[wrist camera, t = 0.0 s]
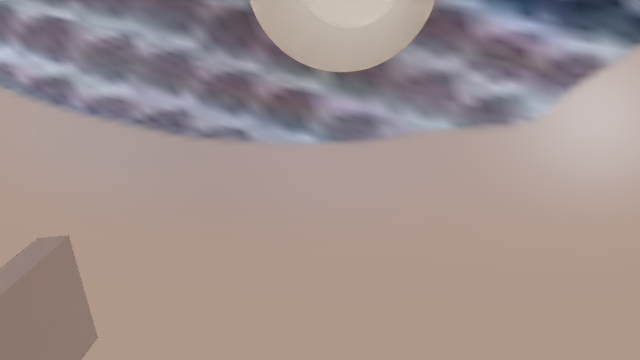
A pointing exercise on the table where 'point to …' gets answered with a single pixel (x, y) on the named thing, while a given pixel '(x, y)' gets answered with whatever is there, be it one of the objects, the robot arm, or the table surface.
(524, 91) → the table surface
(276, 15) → the cup
